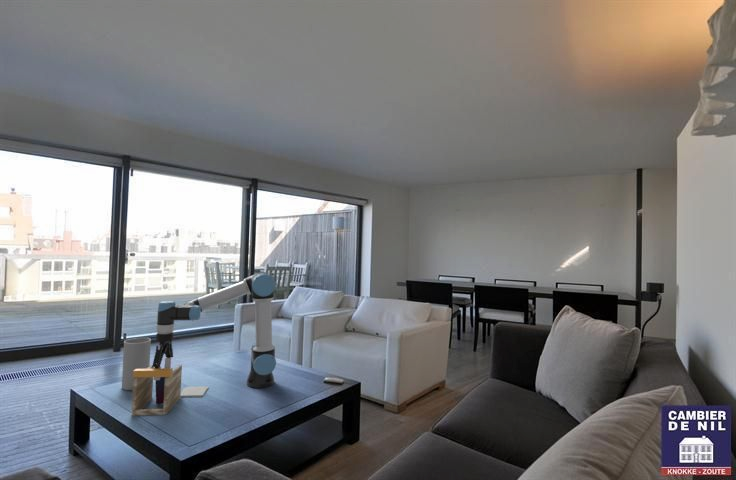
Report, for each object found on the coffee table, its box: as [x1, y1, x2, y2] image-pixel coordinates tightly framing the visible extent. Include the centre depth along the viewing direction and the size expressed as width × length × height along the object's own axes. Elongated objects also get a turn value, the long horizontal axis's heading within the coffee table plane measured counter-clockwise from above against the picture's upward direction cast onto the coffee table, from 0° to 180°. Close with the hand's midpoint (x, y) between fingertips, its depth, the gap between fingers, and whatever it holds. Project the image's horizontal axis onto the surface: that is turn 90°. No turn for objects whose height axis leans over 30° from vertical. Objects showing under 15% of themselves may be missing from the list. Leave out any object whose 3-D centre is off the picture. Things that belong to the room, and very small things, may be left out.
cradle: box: [131, 364, 183, 416], centre depth 184 cm, size 15×19×17 cm
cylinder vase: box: [121, 337, 152, 391], centre depth 207 cm, size 12×12×25 cm
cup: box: [155, 377, 166, 404], centre depth 189 cm, size 7×7×15 cm
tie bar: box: [133, 367, 174, 378], centre depth 177 cm, size 16×3×3 cm, turn 99°
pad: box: [180, 386, 209, 398], centre depth 202 cm, size 12×12×1 cm
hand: (162, 375), depth 189 cm, fingers open, 13 cm apart
